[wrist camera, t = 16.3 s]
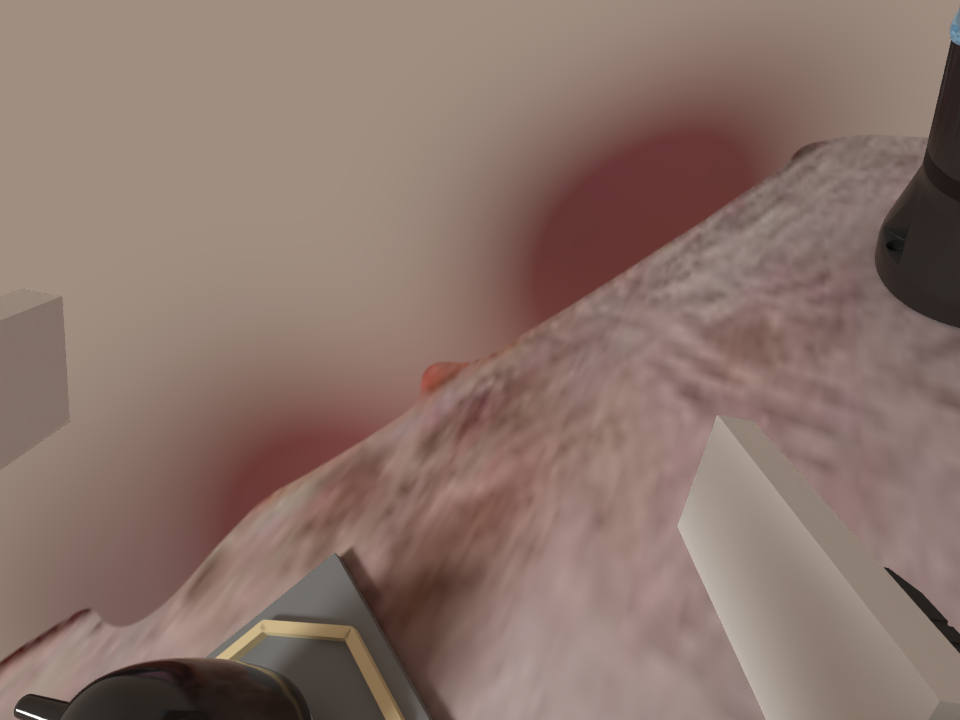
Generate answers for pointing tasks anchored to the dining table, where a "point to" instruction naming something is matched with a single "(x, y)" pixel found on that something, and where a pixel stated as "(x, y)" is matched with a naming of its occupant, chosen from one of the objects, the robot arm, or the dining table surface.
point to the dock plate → (329, 650)
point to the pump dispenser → (177, 694)
